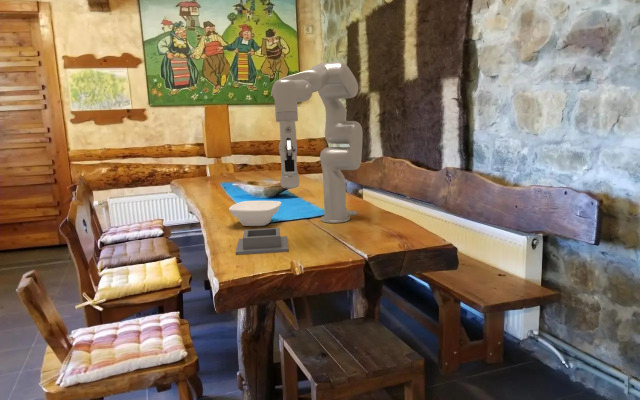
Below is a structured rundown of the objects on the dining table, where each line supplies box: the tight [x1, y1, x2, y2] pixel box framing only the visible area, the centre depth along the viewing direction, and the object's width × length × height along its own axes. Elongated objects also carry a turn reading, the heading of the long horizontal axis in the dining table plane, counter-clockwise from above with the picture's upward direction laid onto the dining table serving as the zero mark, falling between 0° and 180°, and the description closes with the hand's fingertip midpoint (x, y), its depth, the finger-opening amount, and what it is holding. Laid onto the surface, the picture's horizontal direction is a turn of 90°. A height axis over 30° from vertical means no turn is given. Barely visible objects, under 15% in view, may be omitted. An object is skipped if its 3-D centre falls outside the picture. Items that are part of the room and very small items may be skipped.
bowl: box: [228, 200, 282, 227], centre depth 204 cm, size 21×21×9 cm
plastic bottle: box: [278, 139, 300, 190], centre depth 165 cm, size 6×7×20 cm
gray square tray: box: [235, 227, 290, 256], centre depth 171 cm, size 18×17×5 cm
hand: (289, 169), depth 165 cm, fingers closed on plastic bottle, 5 cm apart
